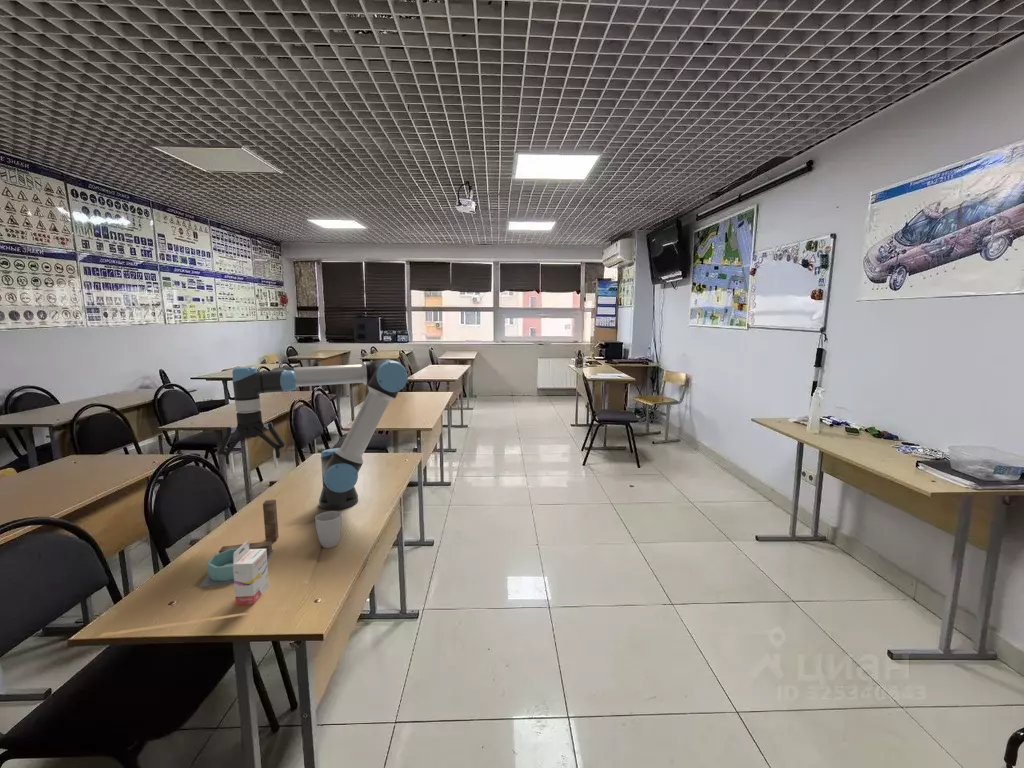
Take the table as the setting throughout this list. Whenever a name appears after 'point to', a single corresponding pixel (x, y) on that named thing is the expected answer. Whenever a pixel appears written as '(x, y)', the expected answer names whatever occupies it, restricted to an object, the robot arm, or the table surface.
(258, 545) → the long wooden bar
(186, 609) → the table surface
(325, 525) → the cup
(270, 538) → the brown wooden block
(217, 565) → the teal octagonal bowl
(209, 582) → the slate board
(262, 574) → the ink cartridge box
